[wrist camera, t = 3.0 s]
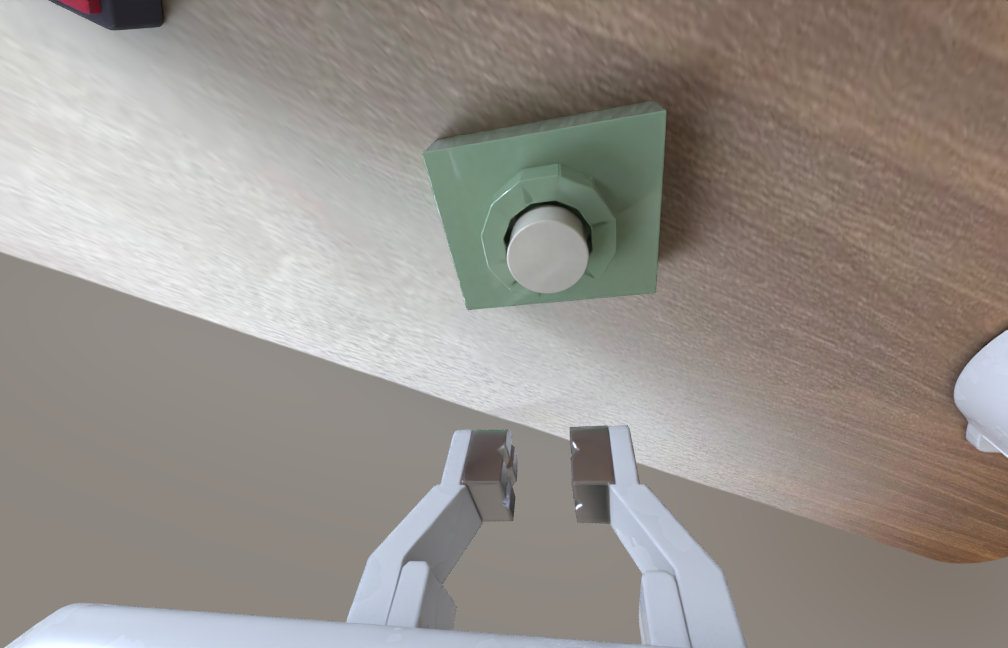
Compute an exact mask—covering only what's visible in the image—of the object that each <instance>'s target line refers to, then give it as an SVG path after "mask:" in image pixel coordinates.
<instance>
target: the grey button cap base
mask: <svg viewBox="0 0 1008 648" xmlns="http://www.w3.org/2000/svg"><path fill="white" fill-rule="evenodd" d="M666 119H667V110H665V109H664V108H663V107H661V106H660V105H659V104H657V103H656V102H655V101H648V102H643V103H637V104H632V105H626V106H621V107H615V108H610V109H604V110H599V111H593V112H587V113H582V114H576V115H571V116H565V117H560V118H554V119H549V120H543V121H538V122H532V123H527V124H521V125H515V126H510V127H504V128H499V129H493V130H488V131H482V132H477V133H471V134H466V135H460V136H455V137H449V138H443V139H438V140H435V141H434V142H433V143H432V144H431V145H430V146H429V147H428V148H427V149H426V150H425V151H424V152H423V153H422V156H423V159H424V163H425V166H426V170H427V173H428V177H429V180H430V184H431V187H432V191H433V194H434V198H435V201H436V204H437V208H438V211H439V215H440V218H441V222H442V225H443V229H444V232H445V236H446V239H447V243H448V246H449V250H450V253H451V256H452V260H453V263H454V267H455V270H456V274H457V277H458V281H459V284H460V288H461V291H462V295H463V298H464V301H465V305H466V308H467V310H472V309H483V308H494V307H505V306H516V305H527V304H538V303H549V302H560V301H572V300H583V299H594V298H605V297H616V296H627V295H638V294H649V293H656V282H657V266H658V249H659V233H660V217H661V201H662V184H663V168H664V152H665V135H666ZM543 205H555V206H560V207H563V208H565V209H567V210H569V211H571V212H572V213H574V214H575V215H576V216H577V217H578V218H579V219H580V221H581V222H582V224H583V226H584V228H585V232H586V237H587V244H588V251H589V261H588V266H587V269H586V271H585V273H584V274H583V276H582V277H581V278H580V280H579V281H578V282H577V283H575V284H574V285H573V286H571V287H570V288H568V289H566V290H563V291H561V292H557V293H548V294H546V293H538V292H534V291H531V290H529V289H527V288H525V287H523V286H522V285H521V284H519V283H518V282H517V281H516V280H515V278H514V277H513V276H512V274H511V272H510V270H509V268H508V264H507V250H508V245H509V240H510V236H511V232H512V229H513V227H514V224H515V223H516V221H517V220H518V219H519V218H520V217H521V216H522V215H523V214H524V213H525V212H527V211H529V210H531V209H533V208H535V207H538V206H543Z"/></svg>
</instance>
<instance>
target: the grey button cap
mask: <svg viewBox="0 0 1008 648" xmlns="http://www.w3.org/2000/svg"><path fill="white" fill-rule="evenodd" d="M588 261H589V251H588V244H587V237H586V232H585V228H584V226H583V224H582V222H581V221H580V219H579V218H578V217H577V216H576V215H575V214H574V213H572V212H571V211H569V210H567V209H565V208H563V207H560V206H555V205H543V206H538V207H535V208H533V209H531V210H529V211H527V212H525V213H524V214H523V215H522V216H521V217H520V218H519V219H518V220H517V221H516V223H515V224H514V227H513V229H512V232H511V236H510V240H509V245H508V250H507V264H508V268H509V270H510V272H511V274H512V276H513V277H514V278H515V280H516V281H517V282H518V283H519V284H521V285H522V286H523V287H525V288H527V289H529V290H531V291H534V292H538V293H546V294H548V293H557V292H561V291H563V290H566V289H568V288H570V287H571V286H573V285H574V284H575V283H577V282H578V281H579V280H580V278H581V277H582V276H583V274H584V273H585V271H586V269H587V266H588Z"/></svg>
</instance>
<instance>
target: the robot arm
mask: <svg viewBox="0 0 1008 648" xmlns="http://www.w3.org/2000/svg"><path fill="white" fill-rule="evenodd" d="M954 401H955V404H956V406H957V408H958V409H959V410H960V412H961V413H962V414H963V415H964V416H965V417H966V419H967V421H968V426H967V431H966V439H967V441H969V442H970V443H971V444H972V445H973V446H975V447H976V448H977V449H978V450H980V451H983V452H1002V453H1003V454H1004V455H1005V456H1006V457H1008V330H1006V331H1005V332H1003V333H1002V334H1000V335H999V336H997V337H996V338H995V339H993V340H992V341H991V342H990V343H988V344H987V345H986V346H985V347H984V348H982V349H981V350H980V351H979V352H978V353H977V354H976V355H975V356H974V357H973V358H972V359H971V360H970V362H969V363H968V364H967V365H966V366H965V368H964V369H963V371H962V372H961V374H960V375H959V377H958V379H957V382H956V385H955V388H954ZM511 442H512V436H511V432H510V430H456V432H455V433H454V435H453V438H452V441H451V446H450V449H449V453H448V457H447V461H446V465H445V469H444V473H443V477H442V481H441V485H435V486H434V487H433V488H432V489H431V490H430V491H429V493H427V495H426V496H425V497H424V498H423V499H422V500H421V501H420V502H419V503H418V504H417V505H416V507H415V508H414V509H413V510H412V511H411V512H410V513H409V514H408V515H407V516H406V517H405V519H404V520H403V521H402V522H401V523H400V524H399V525H398V526H397V527H396V528H395V529H394V530H393V532H392V533H391V534H390V535H389V536H388V537H387V538H386V539H385V540H384V541H383V542H382V544H381V545H380V546H379V547H378V548H377V549H376V550H375V551H374V552H373V553H372V554H371V556H370V557H369V558H368V561H367V564H366V567H365V570H364V572H363V575H362V578H361V581H360V584H359V587H358V589H357V593H356V595H355V598H354V601H353V604H352V606H351V609H350V612H349V615H348V617H347V620H346V622H334V621H321V620H308V619H295V618H282V617H269V616H255V615H241V614H229V613H228V614H227V613H215V612H202V611H188V610H175V609H162V608H149V607H135V606H122V605H109V604H95V603H76V604H71V605H68V606H65V607H63V608H61V609H59V610H57V611H56V612H54V613H53V614H51V615H50V616H48V617H47V618H45V619H43V620H42V621H40V622H39V623H38V624H36V625H35V626H33V627H32V628H31V629H29V630H28V631H27V632H25V633H24V634H22V635H21V636H20V637H18V638H17V639H16V640H14V641H13V642H11V643H10V644H9V645H7V646H6V647H5V648H747V645H746V642H745V639H744V635H743V632H742V629H741V626H740V623H739V619H738V616H737V613H736V610H735V606H734V603H733V600H732V597H731V593H730V590H729V587H728V584H727V580H726V578H725V574H724V572H723V570H722V569H721V568H720V567H719V566H718V565H717V564H716V563H715V561H714V560H713V559H712V558H711V557H710V556H709V555H708V553H706V551H705V550H704V549H703V548H702V547H701V546H700V545H699V543H698V542H697V541H696V540H695V539H694V538H693V537H692V536H691V534H690V533H689V532H688V531H687V530H686V529H685V528H684V527H683V525H682V524H681V523H680V522H679V521H678V520H677V519H676V518H675V517H674V515H673V514H672V513H671V512H670V511H669V510H668V509H667V508H666V506H665V505H664V504H663V503H662V502H661V501H660V500H659V498H658V497H657V496H656V495H655V494H654V493H653V492H652V491H651V489H650V488H649V487H648V486H647V485H641V484H640V482H639V476H638V471H637V466H636V460H635V455H634V449H633V444H632V439H631V433H630V429H629V427H628V425H622V426H585V427H570V445H571V454H572V456H571V480H572V490H573V498H574V499H575V511H576V518H577V522H581V523H605V524H611V526H612V528H613V530H614V531H615V532H616V534H617V536H618V537H619V539H620V540H621V542H622V543H623V545H624V546H625V548H626V549H627V551H628V552H629V554H630V555H631V557H632V558H633V560H634V561H635V563H636V564H637V566H638V568H639V569H640V571H641V572H642V573H643V576H642V579H641V592H640V606H639V625H640V632H641V639H642V644H628V643H615V642H602V641H588V640H575V639H562V638H549V637H534V636H522V635H509V634H495V633H482V632H469V631H455V630H453V627H454V621H455V615H456V608H457V606H456V605H455V603H454V601H453V599H452V598H451V597H450V595H449V594H448V592H447V591H446V589H445V588H444V587H443V585H442V584H443V583H444V581H445V580H446V578H447V577H448V575H449V574H450V572H451V571H452V569H453V568H454V566H455V565H456V563H457V561H458V560H459V559H460V557H461V555H462V554H463V552H464V551H465V549H466V548H467V546H468V545H469V543H470V542H471V540H472V539H473V537H474V536H475V534H476V533H477V531H478V530H479V528H480V527H481V525H482V522H484V521H513V517H514V506H515V494H514V491H513V488H512V486H513V485H514V484H515V482H516V481H517V455H516V450H515V447H514V446H512V445H511Z"/></svg>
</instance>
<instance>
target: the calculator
mask: <svg viewBox="0 0 1008 648" xmlns="http://www.w3.org/2000/svg"><path fill="white" fill-rule="evenodd" d="M49 1H51V2H53V3H55V4H57V5H59V6H61V7H63V8H65V9H67V10H70V11H72V12H74V13H76V14H78V15H80V16H82V17H84V18H86V19H88V20H90V21H92V22H94V23H96V24H98V25H100V26H102V27H105V28H107V29H109V30H127V29H140V28H152V27H160V26H161V25H162V24H163V15H162V7H161V0H49Z"/></svg>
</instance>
